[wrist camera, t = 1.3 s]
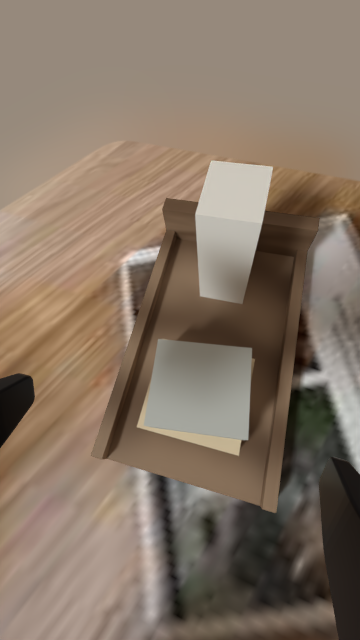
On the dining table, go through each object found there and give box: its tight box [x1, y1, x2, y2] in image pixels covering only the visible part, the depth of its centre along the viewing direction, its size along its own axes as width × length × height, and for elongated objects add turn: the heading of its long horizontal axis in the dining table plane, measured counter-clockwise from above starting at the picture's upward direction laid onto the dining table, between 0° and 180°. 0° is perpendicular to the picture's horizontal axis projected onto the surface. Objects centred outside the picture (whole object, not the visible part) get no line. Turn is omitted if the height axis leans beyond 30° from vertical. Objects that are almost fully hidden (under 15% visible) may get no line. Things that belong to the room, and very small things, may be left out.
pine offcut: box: [137, 339, 255, 456], centre depth 20 cm, size 6×6×2 cm
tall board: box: [195, 160, 273, 304], centre depth 20 cm, size 4×4×10 cm
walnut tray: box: [91, 198, 319, 513], centre depth 21 cm, size 20×12×4 cm, turn 166°
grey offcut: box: [144, 339, 252, 440], centre depth 18 cm, size 5×6×2 cm
